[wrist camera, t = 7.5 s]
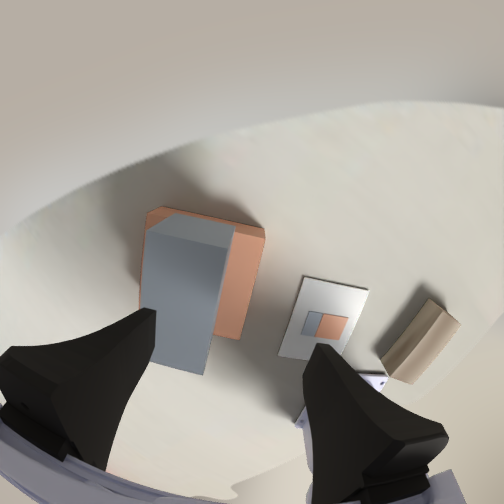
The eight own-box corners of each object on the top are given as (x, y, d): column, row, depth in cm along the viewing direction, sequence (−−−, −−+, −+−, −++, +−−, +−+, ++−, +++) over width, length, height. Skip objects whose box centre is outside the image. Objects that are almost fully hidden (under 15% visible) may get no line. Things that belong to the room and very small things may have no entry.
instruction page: (336, 362, 24) (337, 364, 24) (277, 354, 24) (277, 356, 23) (368, 290, 22) (369, 291, 21) (304, 276, 21) (304, 278, 21)
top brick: (213, 330, 20) (202, 375, 15) (162, 317, 19) (139, 358, 15) (235, 226, 17) (227, 248, 12) (175, 212, 17) (146, 230, 12)
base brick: (241, 319, 23) (239, 340, 20) (151, 297, 22) (138, 315, 19) (264, 228, 20) (265, 239, 17) (161, 206, 20) (146, 212, 17)
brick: (446, 311, 23) (461, 324, 20) (401, 367, 25) (411, 384, 22) (427, 296, 22) (443, 310, 19) (379, 358, 24) (389, 376, 22)
